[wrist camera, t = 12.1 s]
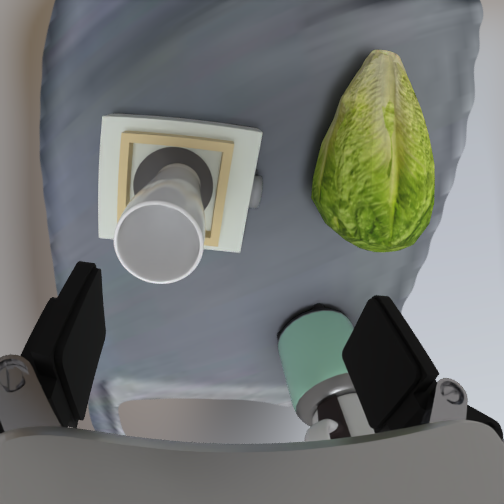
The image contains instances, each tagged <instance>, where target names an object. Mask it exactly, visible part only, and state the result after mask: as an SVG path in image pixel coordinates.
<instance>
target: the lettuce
mask: <svg viewBox="0 0 504 504" xmlns="http://www.w3.org/2000/svg"><path fill="white" fill-rule="evenodd" d="M434 186H435V177H434V160H433V155H432V149H431V144H430V139H429V134H428V131H427V127H426V124H425V120H424V117H423V114H422V110H421V108H420V105H419V103H418V100H417V98H416V95H415V93H414V90H413V88H412V86H411V83H410V81H409V79H408V76H407V74H406V71H405V69H404V67H403V64H402V62H401V59H400V57H399V56H398V55H397V54H395V53H393V52H390V51H385V50H373V51H372V52H371V53H370V54H369V56H368V57H367V58H366V59H365V61H364V63H363V65H362V67H361V68H360V69H359V71H358V72H357V74H356V75H355V77H354V78H353V80H352V81H351V83H350V84H349V86H348V88H347V89H346V91H345V92H344V94H343V95H342V97H341V99H340V102H339V105H338V108H337V111H336V114H335V117H334V119H333V121H332V123H331V125H330V127H329V129H328V131H327V133H326V135H325V137H324V139H323V141H322V144H321V148H320V152H319V156H318V160H317V164H316V168H315V172H314V176H313V184H312V196H311V198H312V200H313V202H314V203H315V205H316V207H317V209H318V211H319V213H320V214H321V216H322V218H323V220H324V222H325V223H326V224H327V225H328V226H329V227H330V228H332V229H333V230H334V231H335V232H336V233H338V234H339V235H340V236H341V237H342V238H344V239H345V240H346V241H348V242H350V243H352V244H354V245H355V246H357V247H359V248H362V249H365V250H368V251H373V252H392V251H398V250H401V249H404V248H406V247H409V246H411V245H413V244H414V243H415V242H416V241H417V239H418V238H419V237H420V235H421V234H422V233H423V231H424V230H425V229H426V227H427V226H428V224H429V222H430V218H431V214H432V210H433V205H434Z"/></svg>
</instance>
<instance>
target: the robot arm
mask: <svg viewBox="0 0 504 504" xmlns="http://www.w3.org/2000/svg"><path fill="white" fill-rule="evenodd" d="M105 335H106V328H105V318H104V307H103V293H102V276H101V269H98V268H96V265H95V263H88V262H82V261H79V262H78V263H77V264H76V266H75V267H74V269H73V271H72V273H71V274H70V276H69V278H68V279H67V281H66V283H65V285H64V287H63V288H62V290H61V292H60V294H59V296H58V297H57V298H54V297H52V298H50V300H49V301H48V303H47V305H46V306H45V308H44V310H43V312H42V314H41V316H40V318H39V319H38V322H37V323H36V325H35V327H34V329H33V331H32V333H31V335H30V337H29V339H28V341H27V343H26V345H25V347H24V350H23V352H22V354H21V356H19V355H5V356H2V357H0V504H504V439H503V432H502V429H501V426H500V425H499V423H498V422H497V421H495V420H493V419H492V418H490V417H488V416H487V415H485V414H483V413H481V412H479V411H477V410H476V409H474V408H472V407H470V406H469V405H467V394H466V392H465V390H464V389H463V387H462V386H461V385H460V384H459V383H458V382H456V381H454V380H452V379H449V378H443V379H440V380H439V381H438V382H436V380H435V379H436V377H437V376H438V375H439V372H438V371H437V369H436V367H435V366H434V364H433V362H432V361H431V359H430V358H429V356H428V355H427V353H426V351H425V350H424V348H423V347H422V345H421V343H420V342H419V340H418V339H417V337H416V336H415V334H414V333H413V331H412V329H411V328H410V326H409V325H408V323H407V322H406V320H405V319H404V318H403V316H402V314H401V313H400V312H399V310H398V309H397V307H396V306H395V304H394V303H393V301H392V300H391V298H390V297H388V296H377V295H376V296H373V297H372V299H369V300H368V302H367V304H366V306H365V308H364V310H363V312H362V314H361V316H360V318H359V320H358V322H357V324H356V326H355V327H354V329H353V331H352V333H351V335H350V337H349V339H348V341H347V343H346V345H345V346H344V348H343V351H342V359H343V361H344V364H345V366H346V369H347V371H348V373H349V376H350V378H351V381H352V383H353V386H354V388H355V391H356V393H357V396H358V398H359V401H360V403H361V406H362V408H363V411H364V413H365V416H366V418H367V421H368V424H369V426H370V427H371V428H373V430H374V432H375V434H368V435H362V436H354V437H347V438H338V439H329V440H319V441H308V442H293V443H274V444H273V443H272V444H216V443H195V442H194V443H193V442H180V441H169V440H159V439H149V438H140V437H132V436H125V435H118V434H111V433H105V432H98V431H91V430H83V429H77V424H78V420H83V419H84V417H85V412H86V408H87V404H88V400H89V396H90V392H91V388H92V384H93V380H94V376H95V372H96V369H97V365H98V361H99V358H100V354H101V351H102V347H103V344H104V341H105ZM68 426H69V427H73V428H67V427H68Z"/></svg>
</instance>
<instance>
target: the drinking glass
mask: <svg viewBox="0 0 504 504" xmlns="http://www.w3.org/2000/svg"><path fill="white" fill-rule="evenodd" d="M205 230H206V224H205V213H204V207H203V202H202V196H201V183H200V179H199V177H198V175H197V173H196V172H195V171H194V170H193V169H192V168H191V167H189V166H187V165H185V164H180V163H174V164H169V165H167V166H165V167H163V168H162V169H161V170H160V171H159V172H158V173H157V175H156V176H155V177H154V178H153V179H152V180H150V181H149V182H148V183H147V184H146V185H145V186H144V187H143V188H142V189H141V190H140V191H139V192H138V193H137V194H136V195H135V196H134V197H133V198H132V199H131V201H130V202H129V203H128V205H127V206H126V208H125V210H124V211H123V213H122V215H121V217H120V219H119V221H118V223H117V225H116V228H115V232H114V247H115V251H116V254H117V257H118V259H119V260H120V262H121V264H122V265H123V266H124V267H125V268H126V269H127V270H128V271H129V272H130V273H131V274H132V275H134V276H136V277H137V278H139V279H141V280H144V281H147V282H150V283H156V284H167V283H173V282H176V281H179V280H181V279H183V278H185V277H186V276H188V275H189V274H190V273H191V272H193V271H194V269H195V268H196V267H197V265H198V264H199V262H200V260H201V257H202V254H203V249H204V242H205Z"/></svg>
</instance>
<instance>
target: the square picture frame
mask: <svg viewBox="0 0 504 504" xmlns="http://www.w3.org/2000/svg"><path fill="white" fill-rule="evenodd" d="M262 133H263V132H261V131H260V130H259V129H258V128H252V127H246V126H239V125H233V124H226V123H218V122H211V121H202V120H194V119H184V118H174V117H163V116H150V115H135V114H114V113H113V114H109V115H105V116H102V127H101V141H100V158H99V187H98V222H99V238H106V239H114V232H115V228H116V225H117V223H118V221H119V219H120V217H121V215H122V213H123V211H124V210H125V208H126V206H127V205H128V203H129V202H130V201H131V199H132V198H133V197H134V196H135V195H136V194H137V193H138V192H139V191H140V190H141V189H142V188H143V187H144V186H145V185H146V184H147V183H148V182H149V181H150V180H152V179H153V178H154V177H155V176H156V175H157V173H158V172H159V171H160V170H161V169H162V168H163V167H165V166H167V165H169V164H174V163H180V164H185V165H187V166H189V167H191V168H192V169H193V170H194V171H195V172H196V173H197V175H198V177H199V179H200V183H201V196H202V202H203V207H204V213H205V224H206V230H205V242H204V249H209V250H219V251H228V252H238V253H240V250H241V245H242V239H243V234H244V228H245V223H246V218H247V212H248V208H255V209H257V208H258V206H259V204H260V200H261V195H262V186H263V181H262V176H256V175H255V170H256V165H257V159H258V154H259V149H260V144H261V138H262Z"/></svg>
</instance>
